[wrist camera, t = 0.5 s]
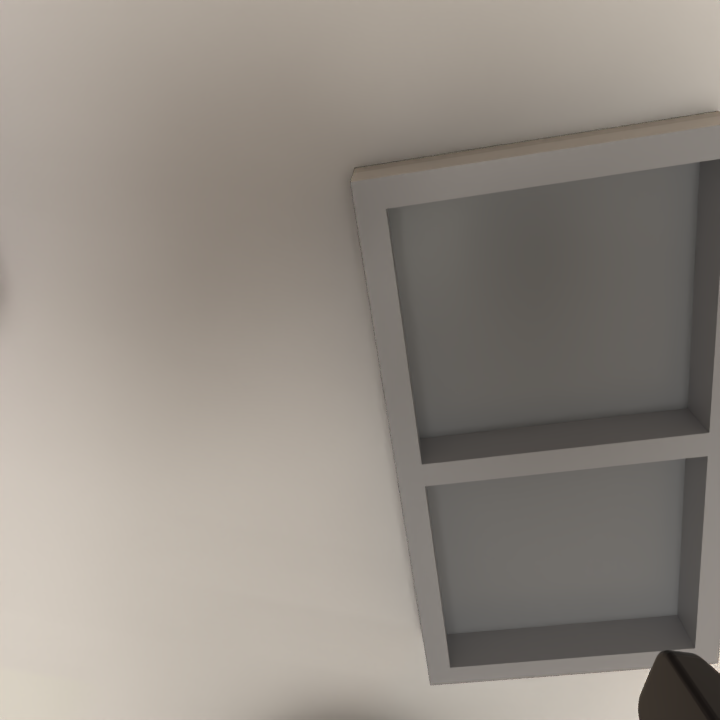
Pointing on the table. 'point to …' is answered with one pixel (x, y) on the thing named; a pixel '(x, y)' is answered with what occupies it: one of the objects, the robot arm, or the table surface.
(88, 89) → the table surface
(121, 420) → the table surface
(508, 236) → the housing
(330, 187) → the table surface
